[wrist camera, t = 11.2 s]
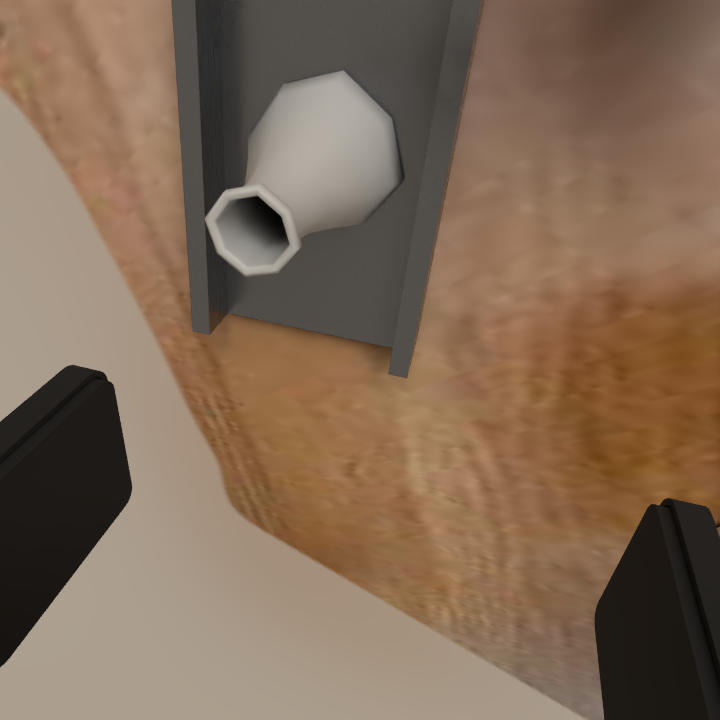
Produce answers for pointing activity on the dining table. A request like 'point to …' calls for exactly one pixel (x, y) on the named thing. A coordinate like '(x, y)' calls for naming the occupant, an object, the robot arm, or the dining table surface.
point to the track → (387, 88)
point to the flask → (306, 172)
